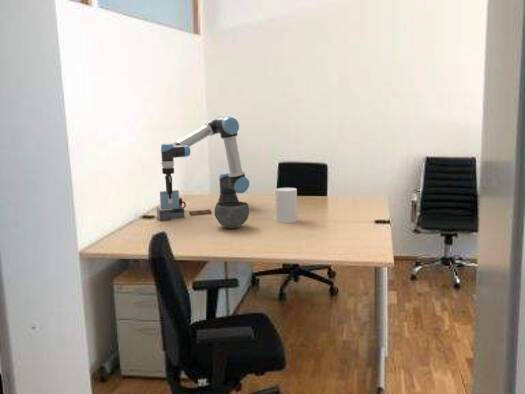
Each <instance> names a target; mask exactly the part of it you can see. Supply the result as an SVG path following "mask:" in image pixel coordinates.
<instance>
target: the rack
mask: <svg viewBox="0 0 525 394" xmlns="http://www.w3.org/2000/svg"><path fill="white" fill-rule="evenodd" d="M183 207H184V206H183V205H182V206H181V205H179V209H168V210H161V208H160V207H159V206H156V217H157V219H158V221H160V222H164V221H166V222H167V221H172V219H181V218H185V208H183Z"/></svg>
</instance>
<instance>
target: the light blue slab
mask: <svg viewBox="0 0 525 394" xmlns="http://www.w3.org/2000/svg"><path fill="white" fill-rule="evenodd" d="M179 192H180V191H179V190H177V189H176V190H175V189H174V190H173V189H172V204H168V194H167V193H168V191H166V190H163V191H162V190H161V191H159V199H160V200H159V201H160V202H159V203H160V210H170V209H179V197H180V195H179V194H180V193H179Z"/></svg>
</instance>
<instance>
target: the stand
mask: <svg viewBox="0 0 525 394" xmlns="http://www.w3.org/2000/svg"><path fill="white" fill-rule="evenodd" d="M188 214H189V215H190V217H192V216H193V217H194V216H195V217H196V216H206V215H212V210H211V209H199V210H198V209H197V210H190V211H189V212H188Z"/></svg>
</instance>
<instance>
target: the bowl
mask: <svg viewBox="0 0 525 394" xmlns="http://www.w3.org/2000/svg"><path fill="white" fill-rule="evenodd" d="M249 207H250V206H249V204H248V203H247V202H245V201H222V202H218V201H217V203H216V204H215V207H214V216H215V219H216V220H217V223H219V225H221V226H222V227H224V228H226V229H236V228H239V227H241V226H243V225H244V224H245V223H246V221H248V219H249V215H250V208H249Z"/></svg>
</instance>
